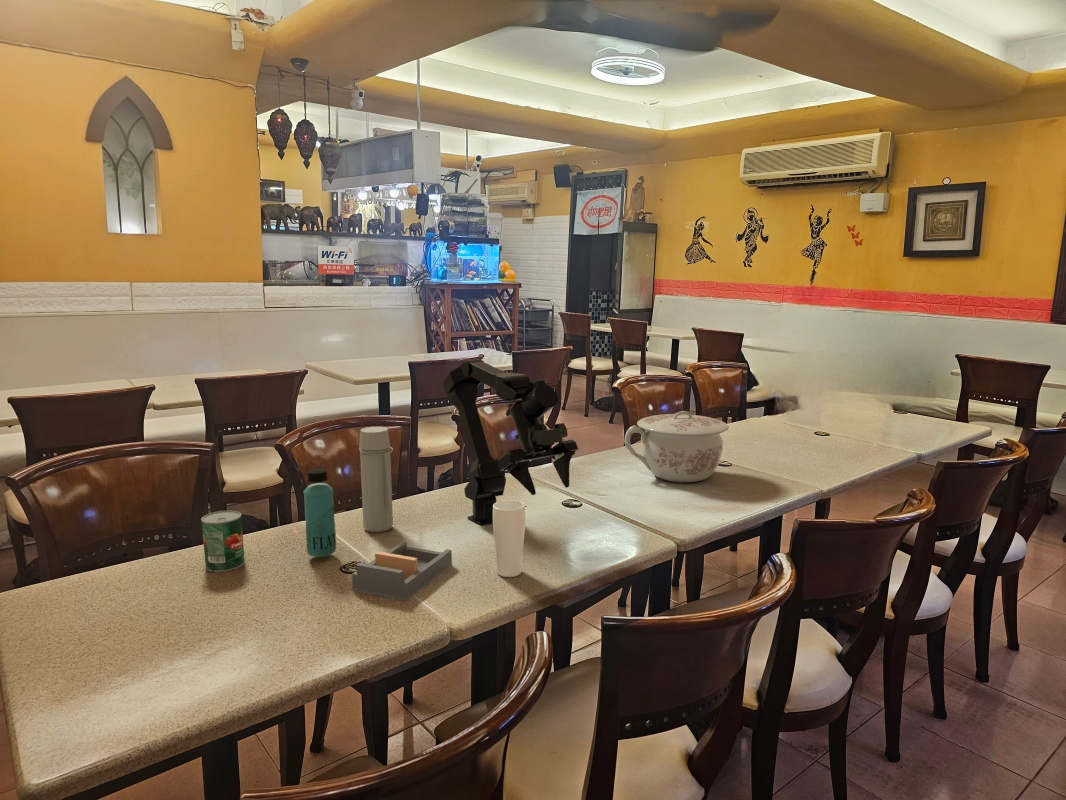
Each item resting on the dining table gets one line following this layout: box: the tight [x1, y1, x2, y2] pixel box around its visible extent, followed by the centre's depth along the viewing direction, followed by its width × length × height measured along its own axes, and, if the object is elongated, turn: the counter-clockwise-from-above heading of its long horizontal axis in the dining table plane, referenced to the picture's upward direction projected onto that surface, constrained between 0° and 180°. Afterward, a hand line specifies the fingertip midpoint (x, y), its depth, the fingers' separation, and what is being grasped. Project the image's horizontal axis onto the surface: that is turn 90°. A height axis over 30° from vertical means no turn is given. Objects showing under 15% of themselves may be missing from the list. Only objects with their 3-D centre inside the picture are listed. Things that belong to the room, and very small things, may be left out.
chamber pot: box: [624, 410, 730, 484], centre depth 217 cm, size 28×28×21 cm
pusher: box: [374, 551, 418, 580], centre depth 144 cm, size 1×9×5 cm, turn 68°
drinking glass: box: [492, 499, 526, 578], centre depth 148 cm, size 7×7×15 cm
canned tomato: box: [200, 510, 246, 573], centre depth 153 cm, size 8×8×11 cm
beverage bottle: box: [303, 468, 337, 558], centre depth 156 cm, size 6×7×20 cm
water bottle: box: [358, 426, 394, 533], centre depth 172 cm, size 9×8×25 cm
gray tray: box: [351, 541, 453, 602], centre depth 147 cm, size 18×12×6 cm
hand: (551, 490), depth 156 cm, fingers open, 9 cm apart
